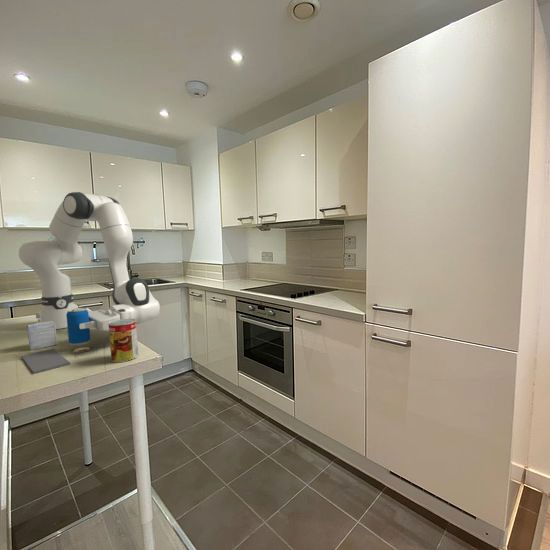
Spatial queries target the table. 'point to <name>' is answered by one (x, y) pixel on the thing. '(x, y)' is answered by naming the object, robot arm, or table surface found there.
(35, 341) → the medicine box
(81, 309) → the beverage can
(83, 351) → the tan flat disc
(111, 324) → the canned food
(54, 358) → the charcoal mat
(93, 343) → the table surface
